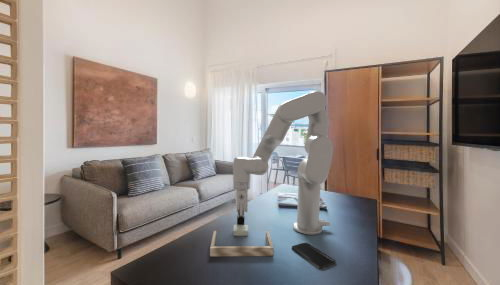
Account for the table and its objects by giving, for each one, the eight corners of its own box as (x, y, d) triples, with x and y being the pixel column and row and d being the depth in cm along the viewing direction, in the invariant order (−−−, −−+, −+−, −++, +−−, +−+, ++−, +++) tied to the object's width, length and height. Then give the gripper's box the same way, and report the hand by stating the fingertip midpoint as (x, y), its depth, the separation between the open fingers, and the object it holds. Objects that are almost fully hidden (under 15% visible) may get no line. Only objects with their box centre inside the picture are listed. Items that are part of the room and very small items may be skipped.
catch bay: (268, 237, 95) (268, 230, 95) (273, 255, 82) (273, 247, 82) (213, 237, 94) (213, 230, 94) (210, 256, 81) (210, 247, 80)
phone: (306, 242, 91) (337, 261, 78) (306, 244, 91) (337, 265, 78) (290, 246, 87) (319, 267, 74) (290, 249, 87) (319, 271, 74)
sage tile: (247, 230, 103) (247, 224, 103) (247, 236, 97) (248, 230, 97) (233, 230, 103) (234, 224, 103) (233, 236, 97) (233, 230, 97)
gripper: (250, 189, 96) (249, 232, 97) (249, 181, 111) (248, 218, 112) (232, 189, 95) (231, 232, 97) (233, 180, 110) (232, 218, 111)
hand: (240, 225), depth 104 cm, fingers closed
